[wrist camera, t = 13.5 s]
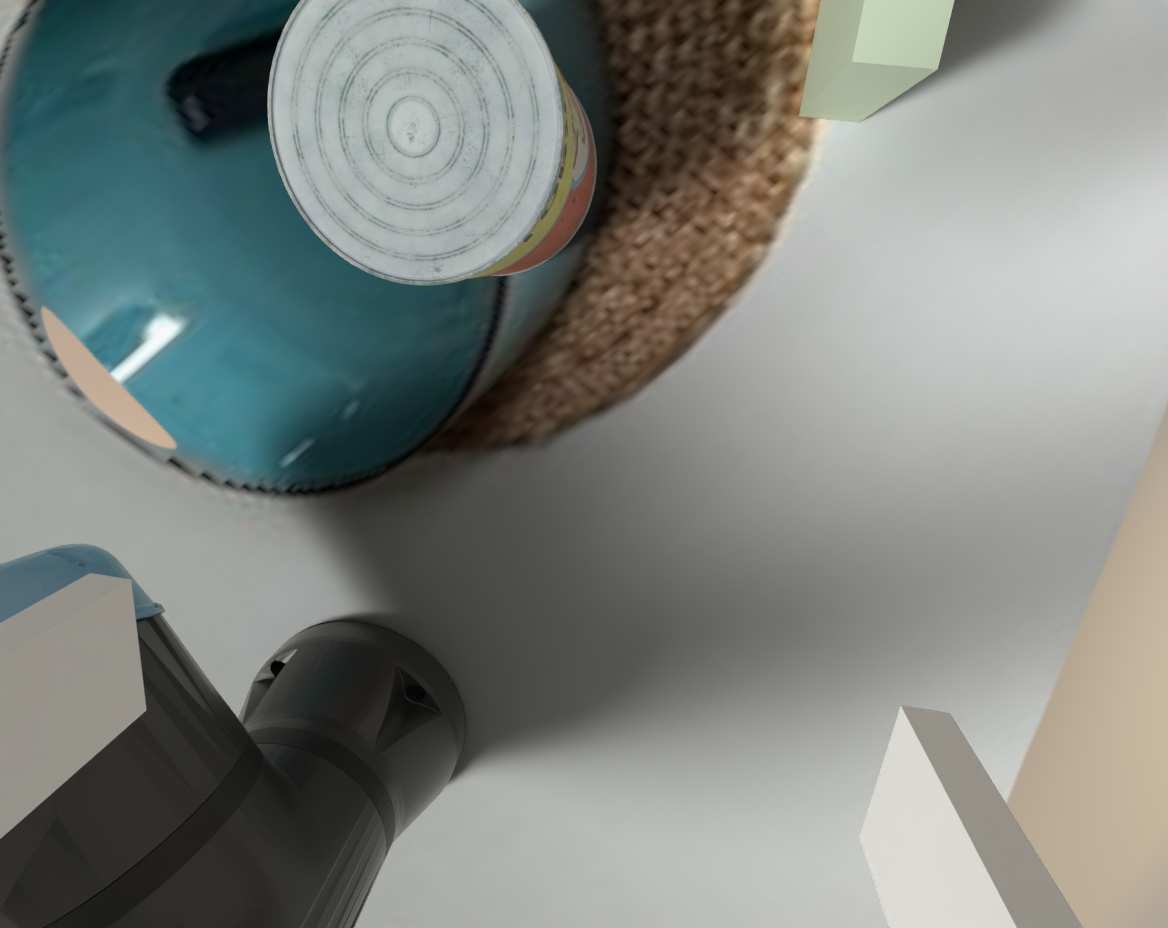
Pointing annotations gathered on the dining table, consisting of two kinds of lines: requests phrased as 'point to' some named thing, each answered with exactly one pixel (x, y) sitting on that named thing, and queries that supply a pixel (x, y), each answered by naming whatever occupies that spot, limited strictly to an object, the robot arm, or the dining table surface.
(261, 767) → the robot arm
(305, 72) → the canned food
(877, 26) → the green arch bridge
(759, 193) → the dining table surface
